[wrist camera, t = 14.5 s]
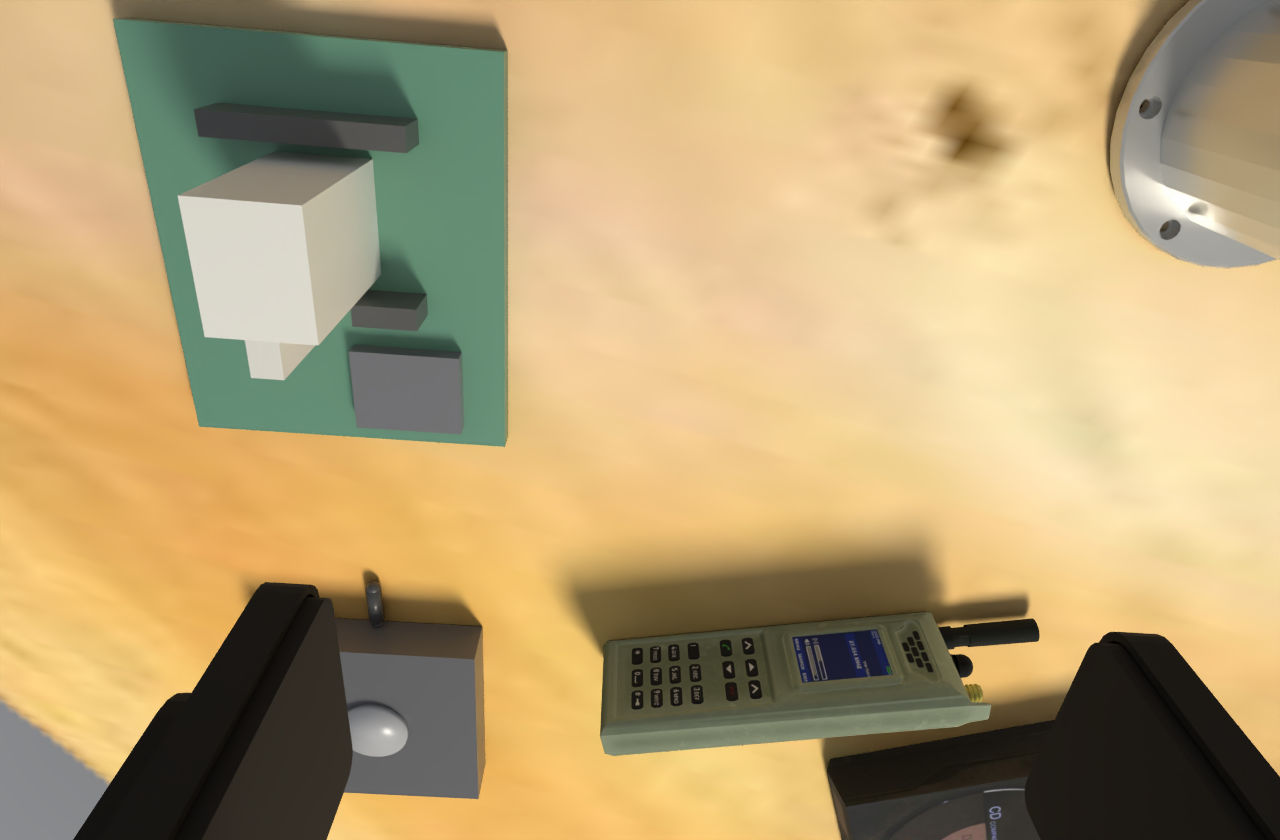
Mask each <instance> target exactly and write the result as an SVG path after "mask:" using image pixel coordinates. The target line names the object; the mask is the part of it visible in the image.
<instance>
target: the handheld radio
mask: <svg viewBox="0 0 1280 840" xmlns="http://www.w3.org/2000/svg"><path fill="white" fill-rule="evenodd" d="M1038 640H1039V629H1038V626H1037V623H1036V622H1035V620H1034V619H1023V620H1012V621H1001V622H990V623H979V624H968V625H964V626H963V627H957V628H951V627H950V626H946V627H938V626H937V624H936V622H935V619H934V617H933V615H932V614H931V613H930V612H919V613H908V614H897V615H886V616H875V617H864V618H853V619H843V620H832V621H821V622H810V623H799V624H788V625H777V626H766V627H755V628H745V629H734V630H723V631H712V632H701V633H690V634H679V635H668V636H658V637H647V638H636V639H625V640H614V641H607V642H606V644H605V645H604V662H603V685H602V707H601V730H600V737H601V741H602V745H603V748H604V752H605V754H608V755H612V756H617V755H629V754H641V753H653V752H665V751H677V750H689V749H700V748H712V747H724V746H736V745H748V744H760V743H772V742H784V741H795V740H807V739H819V738H831V737H843V736H855V735H867V734H879V733H891V732H902V731H914V730H926V729H938V728H950V727H959V726H962V725H964V724H967V723H970V722H976V721H982V720H987V719H988V718H989V714H990V710H991V704H989V703H980V702H981V701H982V700H983V693H982V689H981V687H980V686H979V685H977V684H974V685H972V684H970V685H965V686H964V685H963V683H962V680H961V678H963V677H968V676H969V675H970V674H971V673H972V670H973V664H972V662H971V660H970V659H969V658H968V657H967V656H965V655H962V654H959V655H953V654H950V653H949V651H948V649H954V647H960V646H968V647H974V646H987V645H999V644H1012V643H1025V642H1037V641H1038ZM951 657H952V658H951ZM972 701H973V702H972Z"/></svg>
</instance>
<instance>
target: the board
mask: <svg viewBox="0 0 1280 840" xmlns="http://www.w3.org/2000/svg"><path fill="white" fill-rule="evenodd" d="M113 22H114V26H115V31H116V36H117V41H118V45H119V50H120V55H121V60H122V64H123V69H124V74H125V78H126V83H127V88H128V93H129V97H130V102H131V107H132V111H133V116H134V121H135V126H136V130H137V135H138V140H139V144H140V149H141V154H142V159H143V163H144V168H145V173H146V178H147V182H148V187H149V192H150V196H151V201H152V206H153V211H154V215H155V220H156V225H157V229H158V234H159V239H160V244H161V248H162V253H163V258H164V263H165V267H166V272H167V277H168V281H169V286H170V291H171V296H172V300H173V305H174V310H175V314H176V319H177V324H178V329H179V333H180V338H181V343H182V347H183V352H184V357H185V362H186V366H187V371H188V376H189V381H190V385H191V390H192V395H193V399H194V404H195V409H196V414H197V418H198V423H199V427H214V428H230V429H245V430H260V431H275V432H290V433H306V434H321V435H336V436H351V437H366V438H382V439H397V440H412V441H427V442H442V443H458V444H473V445H488V446H503V447H505V445H506V441H507V438H508V50H497V49H485V48H473V47H462V46H450V45H438V44H427V43H415V42H403V41H391V40H380V39H368V38H356V37H345V36H333V35H321V34H309V33H298V32H286V31H274V30H262V29H251V28H239V27H227V26H216V25H204V24H192V23H180V22H169V21H157V20H145V19H133V18H119V19H113ZM274 151H282V152H294V153H306V154H318V155H330V156H342V157H354V158H366V159H373V170H374V183H375V196H376V210H377V223H378V236H379V250H380V263H381V276H380V277H379V278H378V279H377V280H376V281H375V282H374V283H373V285H372V286H371V287H370V288H369V289H368V290H367V291H366V292H365V294H364V295H363V296H362V297H361V298H360V299H359V300H358V301H357V303H356V304H355V305H354V306H353V307H352V308H351V309H350V311H349V312H348V313H347V314H346V315H345V316H344V317H343V318H342V320H341V321H340V322H339V323H338V324H337V325H336V326H335V327H334V329H333V330H332V331H331V332H330V333H329V334H328V335H327V336H326V338H325V339H324V340H323V341H322V342H321V343H320V344H319V346H318V345H315V347H314V348H313V349H312V350H311V351H310V352H309V353H308V354H307V355H306V357H305V358H304V359H303V360H302V361H301V362H300V363H299V364H298V366H297V367H296V368H295V369H294V370H293V371H292V372H291V373H290V374H289V376H288V377H287V378H286V379H285V380H273V379H259V378H251V375H250V369H249V363H248V357H247V351H246V345H245V340H237V339H223V338H209V337H205V336H204V331H203V325H202V320H201V315H200V310H199V305H198V299H197V294H196V289H195V284H194V279H193V273H192V268H191V263H190V258H189V253H188V247H187V242H186V237H185V232H184V226H183V221H182V216H181V211H180V206H179V200H178V195H180V194H182V193H184V192H186V191H189V190H191V189H193V188H195V187H197V186H199V185H202V184H204V183H206V182H208V181H210V180H213V179H215V178H217V177H219V176H221V175H224V174H226V173H228V172H230V171H232V170H235V169H237V168H239V167H241V166H243V165H245V164H248V163H250V162H252V161H254V160H256V159H259V158H261V157H263V156H265V155H267V154H270V153H272V152H274Z"/></svg>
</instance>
